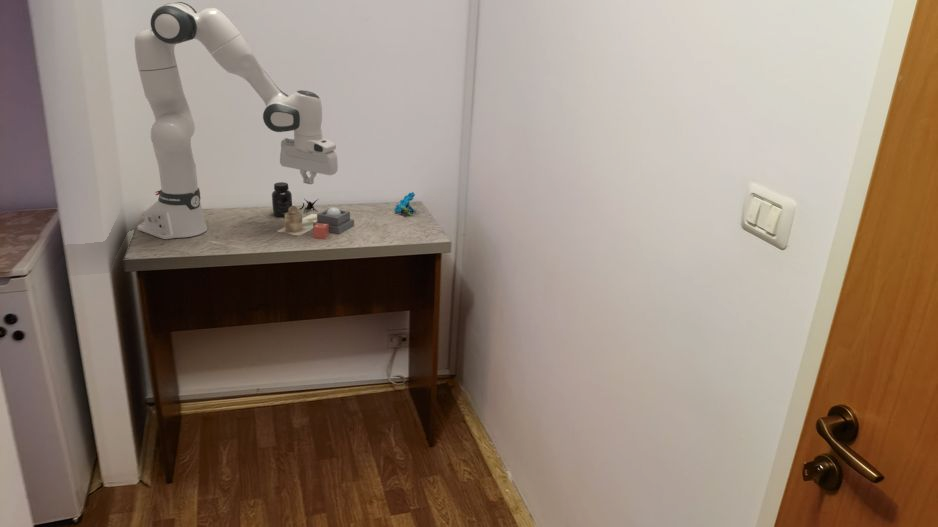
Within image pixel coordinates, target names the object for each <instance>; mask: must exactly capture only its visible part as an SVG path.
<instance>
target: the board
mask: <svg viewBox="0 0 938 527" xmlns="http://www.w3.org/2000/svg"><path fill="white" fill-rule="evenodd" d="M316 221H317V214H316V213H310V214H308V215H307V216H305V217H302V230H301V231H299V232H297V233H293V232H288V231H285V226H284V227H282V228H280V229H277V232H279V233H283V234H288V235H292V236H298V237H299V236H301V235H304V234H306V233H308V232H309V231H311V230H313V223H314V222H316Z"/></svg>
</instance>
